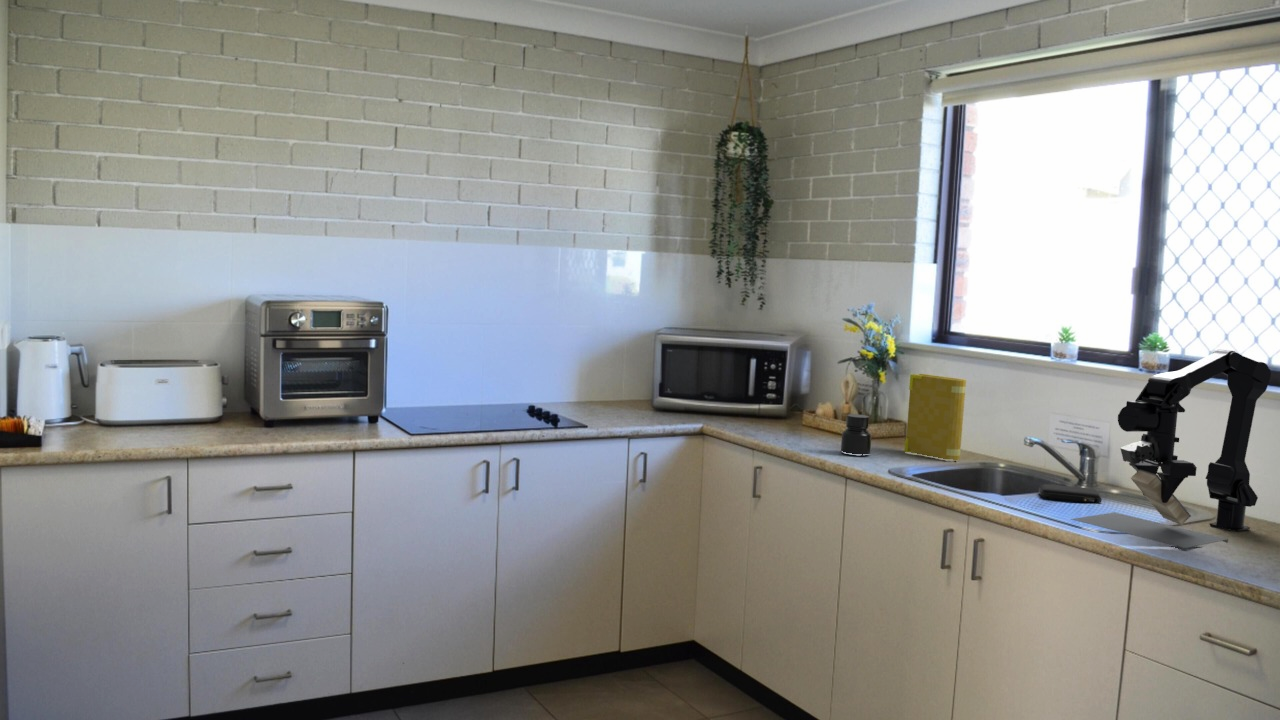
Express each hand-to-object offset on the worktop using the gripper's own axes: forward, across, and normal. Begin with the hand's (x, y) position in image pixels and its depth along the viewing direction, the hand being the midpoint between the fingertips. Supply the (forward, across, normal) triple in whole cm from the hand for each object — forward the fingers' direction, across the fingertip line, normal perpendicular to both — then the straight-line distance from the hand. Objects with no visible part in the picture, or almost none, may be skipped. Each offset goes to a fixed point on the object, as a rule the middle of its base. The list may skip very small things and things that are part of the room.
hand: (1154, 499), depth 238 cm
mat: (+8, 0, -1) cm, 8 cm away
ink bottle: (+8, -90, -39) cm, 99 cm away
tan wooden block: (+4, 0, +6) cm, 7 cm away
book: (+8, -89, -14) cm, 91 cm away
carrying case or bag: (+8, -33, -1) cm, 34 cm away
